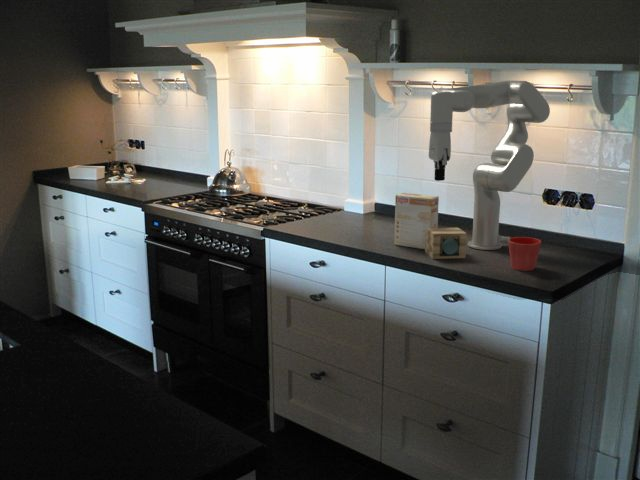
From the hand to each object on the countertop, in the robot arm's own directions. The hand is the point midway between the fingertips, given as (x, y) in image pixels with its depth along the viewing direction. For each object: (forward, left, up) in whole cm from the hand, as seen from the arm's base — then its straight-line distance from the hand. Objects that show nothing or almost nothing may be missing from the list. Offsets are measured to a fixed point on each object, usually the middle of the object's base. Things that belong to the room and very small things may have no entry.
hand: (439, 180), depth 250 cm
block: (-4, -1, -28) cm, 28 cm away
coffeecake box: (+3, -16, -28) cm, 32 cm away
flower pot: (-25, +19, -28) cm, 42 cm away
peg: (-4, 0, -26) cm, 26 cm away
